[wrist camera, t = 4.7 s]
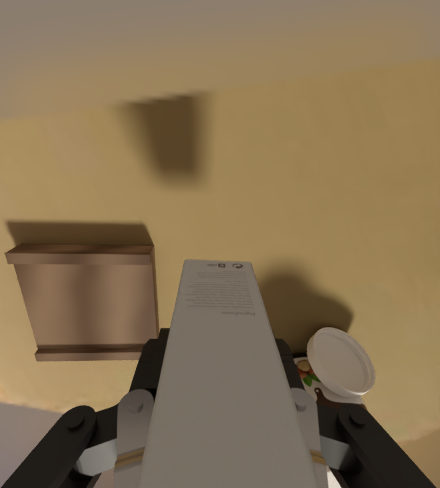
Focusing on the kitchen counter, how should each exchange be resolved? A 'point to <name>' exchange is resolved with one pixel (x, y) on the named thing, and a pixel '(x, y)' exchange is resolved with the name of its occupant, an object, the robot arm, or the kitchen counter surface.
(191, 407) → the skincare box
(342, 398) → the spread jar
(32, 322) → the board
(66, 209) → the kitchen counter surface
